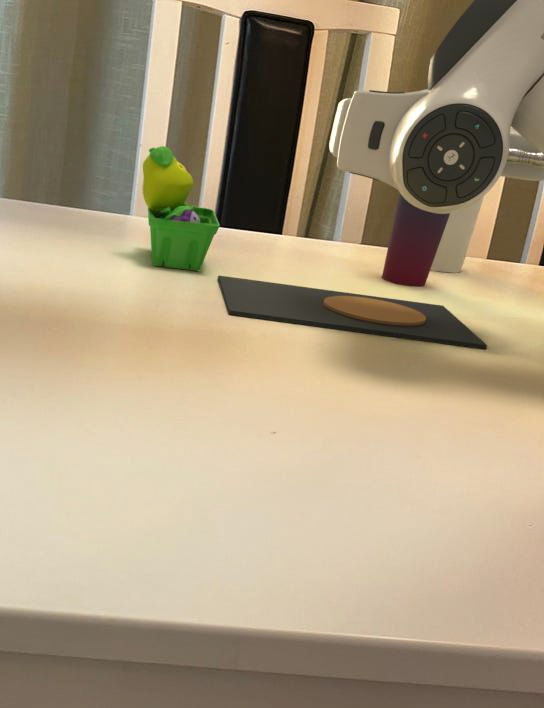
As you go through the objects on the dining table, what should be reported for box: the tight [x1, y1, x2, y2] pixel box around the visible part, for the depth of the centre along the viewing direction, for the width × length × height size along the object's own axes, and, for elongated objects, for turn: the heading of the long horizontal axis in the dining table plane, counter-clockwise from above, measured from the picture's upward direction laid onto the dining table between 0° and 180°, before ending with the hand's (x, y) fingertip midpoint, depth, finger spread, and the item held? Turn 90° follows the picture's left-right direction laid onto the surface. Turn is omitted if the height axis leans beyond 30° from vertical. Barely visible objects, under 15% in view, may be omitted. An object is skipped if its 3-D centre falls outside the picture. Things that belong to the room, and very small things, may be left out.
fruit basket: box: [142, 145, 221, 272], centre depth 109 cm, size 11×9×11 cm
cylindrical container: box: [430, 195, 485, 273], centre depth 124 cm, size 7×7×25 cm
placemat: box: [217, 275, 488, 350], centre depth 99 cm, size 24×16×1 cm, turn 86°
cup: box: [381, 191, 450, 287], centre depth 114 cm, size 7×7×15 cm
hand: (439, 137), depth 98 cm, fingers open, 8 cm apart
